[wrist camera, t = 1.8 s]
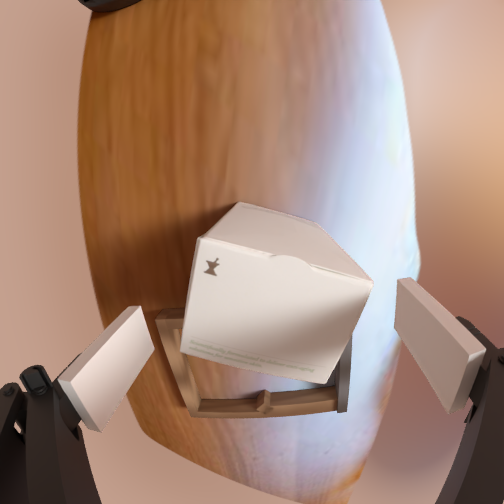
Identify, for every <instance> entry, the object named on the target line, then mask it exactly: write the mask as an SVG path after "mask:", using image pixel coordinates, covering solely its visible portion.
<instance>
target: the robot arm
mask: <svg viewBox="0 0 504 504" xmlns="http://www.w3.org/2000/svg"><path fill="white" fill-rule="evenodd" d="M78 1H79V2H80V3H82V4H83V5H84V6H86V7H87V8H89V9H90V10H92V11H96V12H108V11H114V10H118V9H121V8H124V7H126V6H129V5H131V4H134V3H136V2H138V1H140V0H78ZM394 328H395V330H396V331H397V333H398V334H399V336H400V337H401V339H402V340H403V342H404V343H405V345H406V346H407V348H408V350H409V351H410V352H411V354H412V356H413V357H414V359H415V360H416V362H417V363H418V365H419V367H420V368H421V370H422V372H423V373H424V375H425V376H426V378H427V380H428V381H429V383H430V384H431V386H432V388H433V389H434V391H435V393H436V395H437V396H438V398H439V400H440V402H441V403H442V405H443V407H444V408H445V410H446V412H447V414H451V413H453V412H456V411H458V410H461V409H463V408H464V407H465V405H466V402H467V400H468V398H469V397H470V399H471V400H472V402H473V405H472V407H471V409H470V411H469V413H468V415H467V417H466V419H465V421H464V423H467V424H466V427H465V431H464V434H463V437H462V440H461V443H460V446H459V449H458V452H457V454H456V457H455V460H454V463H453V465H452V468H451V470H450V473H449V475H448V477H447V480H446V482H445V484H444V486H443V488H442V491H441V493H440V495H439V497H438V499H437V501H436V503H435V504H502V503H503V500H504V348H500V349H497V348H496V347H495V346H494V345H493V344H492V343H491V342H490V341H489V340H488V339H487V338H486V337H485V336H484V335H483V334H482V333H480V331H479V330H478V329H477V328H475V326H474V325H473V324H472V323H471V322H469V321H468V320H466V319H464V318H462V317H459V316H458V317H454V316H453V315H452V314H451V313H449V311H448V310H446V309H445V308H444V307H443V306H442V305H441V304H440V303H439V302H438V301H437V300H436V299H434V298H433V297H432V296H431V295H430V294H429V293H428V292H427V291H425V290H424V289H423V288H422V287H421V286H420V285H419V284H418V283H417V282H415V281H414V280H413V279H412V278H411V277H409V278H403V279H397V296H396V310H395V322H394ZM153 351H154V346H153V343H152V340H151V337H150V334H149V331H148V328H147V325H146V322H145V319H144V315H143V312H142V309H141V306H129V307H128V308H127V309H126V310H125V311H123V312H122V313H121V314H120V315H119V316H118V317H117V318H116V319H115V320H114V321H113V322H112V323H111V324H110V325H109V326H108V327H107V328H106V329H105V330H104V331H103V332H102V333H101V334H100V335H99V336H98V338H96V339H95V340H94V341H93V342H92V343H91V344H90V345H89V346H88V348H86V349H85V350H84V352H83V353H81V354H79V355H78V356H77V357H76V358H75V359H74V360H73V361H72V362H71V363H70V364H69V365H68V368H67V367H66V369H64V370H63V372H62V373H61V374H60V375H59V376H58V377H57V378H56V379H55V380H54V381H53V382H51V380H50V378H49V376H48V374H47V372H46V371H45V369H44V367H43V366H41V365H34V366H31V367H29V368H27V369H25V370H24V371H23V372H22V373H21V374H20V377H19V378H20V380H21V381H22V383H23V385H24V387H25V388H26V390H27V392H23V391H22V390H21V388H20V386H19V385H18V384H17V383H13V382H12V383H8V384H7V385H6V384H5V385H4V386H3V387H2V388H1V389H0V504H102V503H101V500H100V497H99V494H98V491H97V489H96V485H95V482H94V478H93V475H92V472H91V468H90V464H89V461H88V457H87V453H86V448H85V444H84V439H83V435H82V430H81V428H80V426H79V425H78V423H79V422H80V421H81V419H82V421H83V422H84V424H85V425H86V426H87V428H88V429H90V430H94V431H97V432H102V431H103V429H104V428H105V426H106V424H107V423H108V421H109V419H110V418H111V416H112V415H113V413H114V411H115V410H116V408H117V407H118V405H119V404H120V402H121V400H122V398H123V397H124V396H125V394H126V393H127V391H128V389H129V388H130V386H131V385H132V383H133V382H134V380H135V378H136V377H137V375H138V374H139V372H140V371H141V369H142V368H143V366H144V365H145V363H146V362H147V360H148V358H149V357H150V355H151V354H152V352H153ZM15 422H16V423H17V425H18V426H19V427H20V429H21V433H18V431H17V430H16V429H15V428H14V423H15Z"/></svg>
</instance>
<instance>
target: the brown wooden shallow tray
mask: <svg viewBox="0 0 504 504" xmlns="http://www.w3.org/2000/svg"><path fill="white" fill-rule="evenodd" d="M184 315H185V308H173V309H162V311H161V312H160V313H159V315H158V316H157V317H156V319H155V322H156V325H157V329H158V332H159V335H160V338H161V341H162V344H163V347H164V349H165V352H166V355H167V358H168V361H169V363H170V366H171V369H172V371H173V374H174V377H175V379H176V382H177V384H178V387H179V389H180V392H181V394H182V397H183V399H184V402H185V404H186V406H187V409H188V411H189V413H190V416H191V417H198V418H267V417H283V416H295V415H306V414H314V413H322V412H330V411H337V413H342V412H347V405H348V395H349V383H350V370H351V353H352V335H351V337H350V339H349V341H348V343H347V345H346V347H345V349H344V351H343V353H342V355H341V357H340V359H339V360H338V362H337V364H336V366H335V386H330V387H323V388H315V389H306V390H297V391H286V392H273V393H270V392H268V391H267V390H264V391H263V392H262V393H260V394H259V395H258V396H257V399H201V397H200V394H199V391H198V389H197V386H196V383H195V380H194V377H193V374H192V371H191V368H190V365H189V362H188V359H187V356H186V354H185V353H182V352H180V345H181V337H180V333H179V330H178V329H183V322H184Z"/></svg>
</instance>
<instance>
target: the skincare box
mask: <svg viewBox="0 0 504 504" xmlns="http://www.w3.org/2000/svg"><path fill="white" fill-rule="evenodd" d="M373 285H374V281H373V280H372V279H371V278H370V277H369V276H368V275H367V274H366V273H365V272H364V270H363V269H362V268H361V267H360V266H359V265H358V264H357V263H356V262H355V261H354V260H353V259H352V258H351V257H350V256H349V255H348V254H347V253H346V252H345V251H344V250H343V249H342V248H341V247H340V246H339V245H338V244H337V243H336V241H335V240H334V239H333V238H332V237H331V236H330V235H329V234H328V233H327V232H326V231H325V230H324V229H323V228H322V227H321V226H320V225H319V224H318V223H316V222H313V221H310V220H307V219H303V218H300V217H296V216H293V215H289V214H286V213H282V212H279V211H275V210H271V209H267V208H264V207H260V206H256V205H252V204H247V203H243V202H238V203H236V204H235V205H234V206H233V208H232V209H230V210H229V211H228V212H227V213H226V214H225V215H224V216H223V217H222V218H221V219H220V220H219V221H218V222H217V223H216V224H215V225H214V226H213V227H212V228H211V229H210V230H209V231H207V232H206V233H205V234H204V235H202V236H200V237H198V238H197V242H196V248H195V253H194V258H193V264H192V269H191V275H190V281H189V288H188V294H187V301H186V308H185V315H184V322H183V329H182V337H181V345H180V352H182V353H185V354H189V355H192V356H196V357H200V358H203V359H207V360H211V361H214V362H218V363H222V364H226V365H230V366H234V367H238V368H242V369H247V370H251V371H255V372H260V373H265V374H270V375H275V376H280V377H285V378H290V379H296V380H301V381H307V382H313V383H319V384H326V382H327V380H328V378H329V377H330V375H331V373H332V371H333V370H334V368H335V366H336V364H337V362H338V360H339V359H340V357H341V355H342V353H343V351H344V349H345V347H346V345H347V343H348V341H349V339H350V337H351V335H352V333H353V331H354V329H355V326H356V324H357V322H358V320H359V318H360V316H361V313H362V311H363V309H364V307H365V304H366V302H367V300H368V297H369V295H370V292H371V290H372V288H373Z"/></svg>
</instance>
